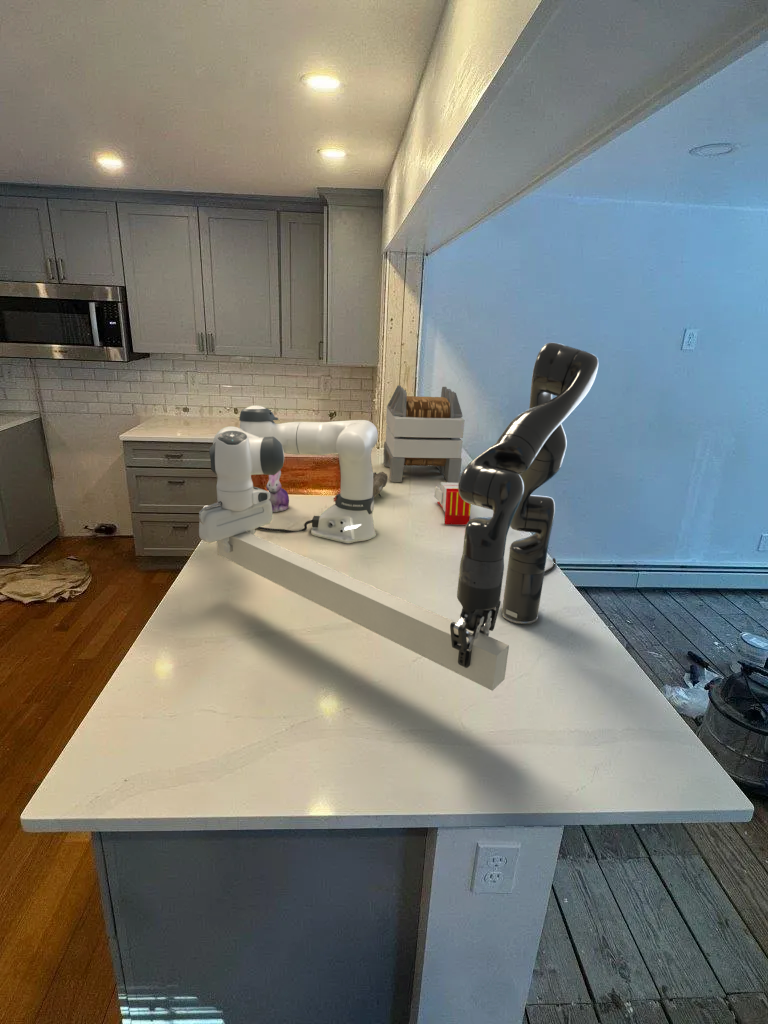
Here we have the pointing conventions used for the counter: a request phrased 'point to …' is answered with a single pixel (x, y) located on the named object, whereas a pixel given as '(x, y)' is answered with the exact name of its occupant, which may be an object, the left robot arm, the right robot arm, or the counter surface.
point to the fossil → (379, 482)
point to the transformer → (424, 434)
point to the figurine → (277, 493)
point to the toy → (452, 504)
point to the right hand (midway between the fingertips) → (471, 658)
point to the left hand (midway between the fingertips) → (238, 548)
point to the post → (369, 607)
